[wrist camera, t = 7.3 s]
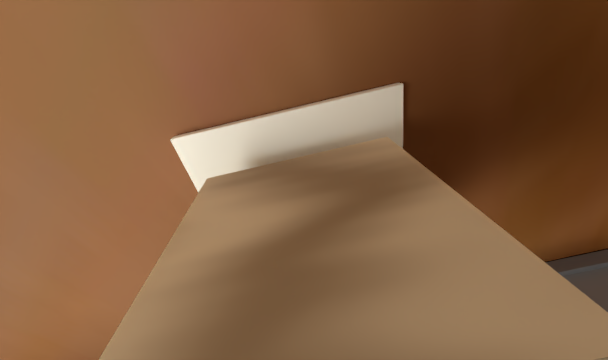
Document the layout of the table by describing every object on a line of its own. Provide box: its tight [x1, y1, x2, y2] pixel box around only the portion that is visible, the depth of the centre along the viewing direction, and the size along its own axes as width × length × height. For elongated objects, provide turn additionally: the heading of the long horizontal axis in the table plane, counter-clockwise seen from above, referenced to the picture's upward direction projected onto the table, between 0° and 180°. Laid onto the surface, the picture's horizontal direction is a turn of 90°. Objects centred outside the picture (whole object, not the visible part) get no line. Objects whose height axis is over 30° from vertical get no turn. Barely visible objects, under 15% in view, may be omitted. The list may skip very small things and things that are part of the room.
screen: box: [545, 249, 608, 312], centre depth 13 cm, size 15×2×6 cm, turn 102°
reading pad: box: [170, 83, 403, 193], centre depth 11 cm, size 9×9×1 cm
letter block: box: [99, 137, 608, 360], centre depth 7 cm, size 6×7×6 cm
